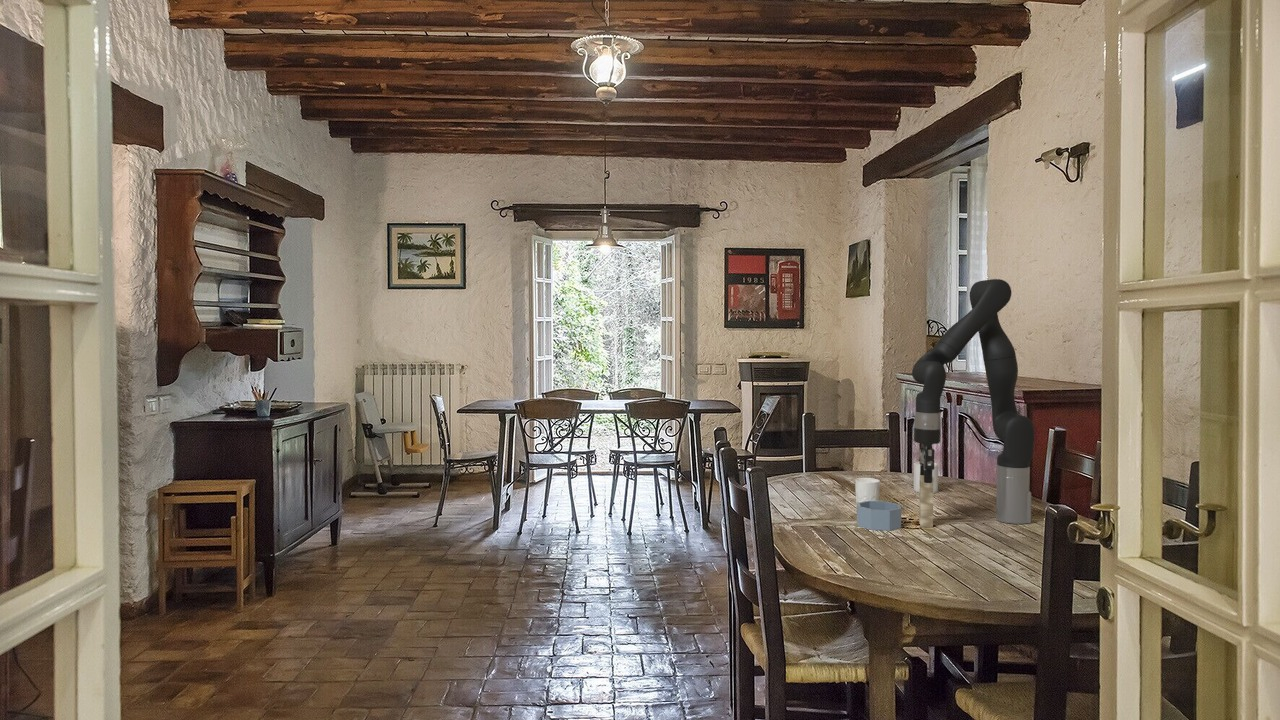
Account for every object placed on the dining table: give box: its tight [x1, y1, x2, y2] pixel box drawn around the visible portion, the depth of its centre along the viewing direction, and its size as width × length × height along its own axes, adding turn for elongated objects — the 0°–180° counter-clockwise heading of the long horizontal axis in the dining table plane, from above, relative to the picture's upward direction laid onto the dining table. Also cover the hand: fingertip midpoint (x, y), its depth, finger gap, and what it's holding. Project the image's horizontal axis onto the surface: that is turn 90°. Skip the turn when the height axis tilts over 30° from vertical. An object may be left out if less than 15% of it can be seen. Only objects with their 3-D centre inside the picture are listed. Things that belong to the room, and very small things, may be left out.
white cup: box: [854, 477, 881, 505], centre depth 262 cm, size 8×8×10 cm
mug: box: [913, 461, 939, 495], centre depth 291 cm, size 12×8×10 cm
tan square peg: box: [918, 475, 934, 528], centre depth 242 cm, size 4×4×15 cm
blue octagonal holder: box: [856, 500, 902, 532], centre depth 243 cm, size 13×13×6 cm
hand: (925, 480), depth 241 cm, fingers open, 8 cm apart
